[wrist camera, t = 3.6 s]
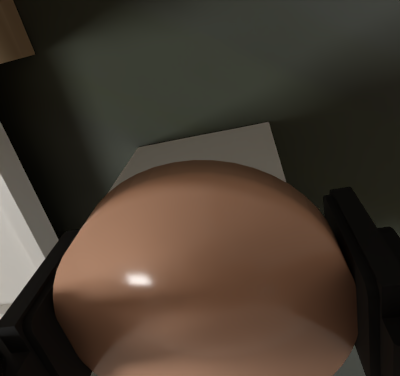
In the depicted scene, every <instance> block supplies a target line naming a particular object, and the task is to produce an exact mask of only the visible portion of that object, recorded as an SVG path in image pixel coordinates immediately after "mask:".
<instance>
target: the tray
mask: <svg viewBox="0 0 400 376" xmlns="http://www.w3.org/2000/svg"><path fill="white" fill-rule="evenodd" d="M58 241H59V240H58V238H57V236H56V233H55V231H54V229H53V227H52V225H51V223H50V221H49V219H48V217H47V215H46V213H45V211H44V209H43V207H42V205H41V203H40V201H39V199H38V197H37V195H36V193H35V191H34V189H33V187H32V185H31V183H30V181H29V179H28V177H27V175H26V173H25V171H24V169H23V167H22V165H21V163H20V161H19V159H18V156H17V154H16V152H15V150H14V148H13V146H12V144H11V142H10V140H9V138H8V136H7V134H6V132H5V130H4V128H3V126H2V124H1V122H0V319H1V318H2V317H3V315H4V314H5V313H6V311H7V310H8V308H9V307H10V306H11V304H12V303H13V302H14V300H15V299H16V298H17V296H18V295H19V294H20V292H21V291H22V289H23V288H24V287H25V285H26V284H27V283H28V281H29V280H30V279H31V277H32V276H33V275H34V273H35V272H36V270H37V269H38V268H39V266H40V265H41V264H42V262H43V261H44V260H45V258H46V257H47V255H48V254H49V253H50V251H51V250H52V249H53V247H54V246H55V245H56V243H57V242H58Z"/></svg>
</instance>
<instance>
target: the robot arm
mask: <svg viewBox="0 0 400 376" xmlns="http://www.w3.org/2000/svg"><path fill="white" fill-rule="evenodd" d="M323 203H324V214H325V219H326V220H327V222H328V223H329V225H330V227H331V229H332V231H333V233H334V235H335V237H336V239H337V242H338V244H339V246H340V249H341V251H342V253H343V256H344V258H345V260H346V263H347V265H348V267H349V270H350V272H351V274H352V276H353V279H354V282H355V285H356V300H357V323H358V336H357V340H356V342H355V347H356V349H357V352H358V355H359V358H360V361H361V364H362V366H363V369H364V372H365V375H366V376H400V238H399V236H398V235H397V233H396V232H395V231H394V229H393V228H391V227H384V228H377V227H376V226H375V224H374V223H373V221H372V219H371V218H370V216H369V215H368V213H367V212H366V210H365V208H364V207H363V205H362V204H361V202H360V201H359V199H358V197H357V196H356V194H355V193H354V191H353V190H352V188H351V187H345V188H339V189H332V190H330V195H326V196H323ZM79 231H80V229H78V230H71V231H66V232H65V233H64V234H63V235H62V236H61V238H60V239H59V241H58V242H57V243H56V245H55V246H54V247H53V249H52V250H51V251H50V253H49V254H48V255H47V257H46V258H45V260H44V261H43V262H42V264H41V265H40V266H39V268H38V269H37V270H36V272H35V273H34V275H33V276H32V277H31V279H30V280H29V281H28V283H27V284H26V285H25V287H24V288H23V289H22V291H21V292H20V294H19V295H18V296H17V298H16V299H15V300H14V302H13V303H12V304H11V306H10V307H9V308H8V310H7V311H6V313H5V314H4V315H3V317H2V318H1V319H0V376H90V375H91V373H92V370H91V369H90V368H89V367H87V366H86V365H85V364H84V363H83V362H82V361H81V359H80V358H79V357H78V355H77V353H76V352H75V350H74V348H73V347H72V345H71V343H70V341H69V340H68V338H67V336H66V334H65V333H64V331H63V329H62V327H61V326H60V324H59V322H58V320H57V318H56V315H55V311H54V303H53V284H54V280H55V276H56V271H57V268H58V266H59V264H60V262H61V259H62V257H63V255H64V254H65V252H66V251H67V249H68V248H69V246H70V245H71V243H72V242H73V240H74V239H75V237H76V236H77V234H78V232H79Z"/></svg>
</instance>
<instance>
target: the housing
mask: <svg viewBox="0 0 400 376" xmlns="http://www.w3.org/2000/svg"><path fill="white" fill-rule="evenodd" d="M32 55H35V52H34V50H33V47H32V45H31V43H30V40H29V38H28V35H27V33H26V30H25V28H24V26H23V23H22V21H21V18H20V16H19V13H18V11H17V9H16V6H15V4H14V1H13V0H0V64H2V63H5V62H9V61H13V60H17V59H20V58H24V57H28V56H32Z"/></svg>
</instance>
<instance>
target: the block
mask: <svg viewBox="0 0 400 376" xmlns="http://www.w3.org/2000/svg"><path fill="white" fill-rule="evenodd" d="M189 160H216V161H224V162H232V163H237V164H241V165H245V166H249V167H253V168H255V169H258V170H261V171H263V172H266V173H268V174H271V175H273V176H275V177H277V178H279V179H281V180H282V181H284V182H286V179H285V176H284V173H283V169H282V166H281V162H280V159H279V155H278V152H277V149H276V145H275V142H274V138H273V135H272V132H271V128H270V125H269V122H266V123H260V124H255V125H250V126H245V127H240V128H235V129H230V130H225V131H219V132H214V133H209V134H204V135H199V136H194V137H189V138H183V139H178V140H173V141H168V142H163V143H158V144H153V145H148V146H142V147H138V148H137V149H136V151H135V152H134V154H133V155H132V157H131V159H130V160H129V162H128V163H127V165H126V166H125V168H124V169H123V171H122V172H121V174H120V175H119V177H118V178H117V180H116V181H115V183H114V184H113V186H112V187H111V189H110V190H109V192H110V191H111V190H112V189H114V188H115V187H116V186H118V185H119V184H120V183H122V182H123V181H125V180H127V179H129V178H130V177H132V176H134V175H136V174H138V173H140V172H143V171H145V170H148V169H151V168H153V167H157V166H161V165H165V164H169V163H173V162H181V161H189ZM109 192H108V193H109Z"/></svg>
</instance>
